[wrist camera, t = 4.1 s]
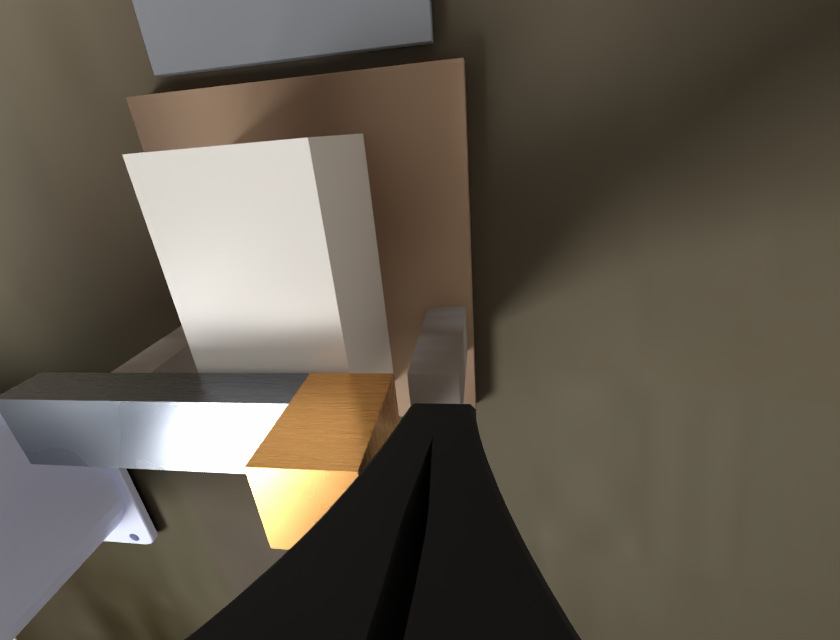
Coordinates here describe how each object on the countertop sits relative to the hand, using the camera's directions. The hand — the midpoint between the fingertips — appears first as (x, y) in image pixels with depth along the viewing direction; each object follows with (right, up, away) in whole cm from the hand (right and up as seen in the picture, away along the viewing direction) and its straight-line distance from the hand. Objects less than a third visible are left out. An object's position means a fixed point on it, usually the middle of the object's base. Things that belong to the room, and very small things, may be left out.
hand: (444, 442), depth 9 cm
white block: (-4, +4, +5) cm, 7 cm away
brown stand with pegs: (-4, +4, +5) cm, 8 cm away
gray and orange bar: (-6, 0, +2) cm, 6 cm away
